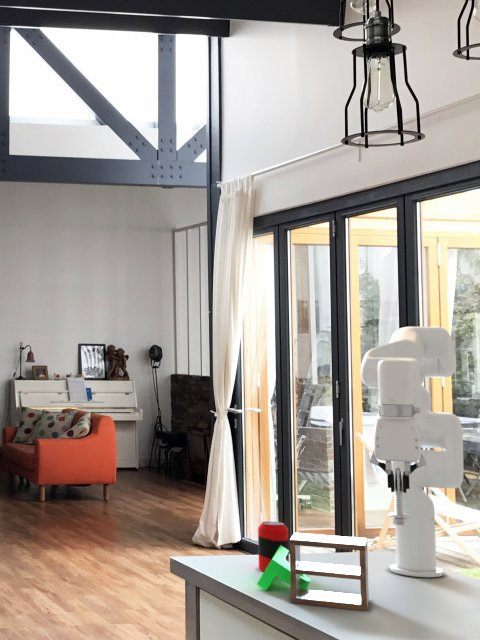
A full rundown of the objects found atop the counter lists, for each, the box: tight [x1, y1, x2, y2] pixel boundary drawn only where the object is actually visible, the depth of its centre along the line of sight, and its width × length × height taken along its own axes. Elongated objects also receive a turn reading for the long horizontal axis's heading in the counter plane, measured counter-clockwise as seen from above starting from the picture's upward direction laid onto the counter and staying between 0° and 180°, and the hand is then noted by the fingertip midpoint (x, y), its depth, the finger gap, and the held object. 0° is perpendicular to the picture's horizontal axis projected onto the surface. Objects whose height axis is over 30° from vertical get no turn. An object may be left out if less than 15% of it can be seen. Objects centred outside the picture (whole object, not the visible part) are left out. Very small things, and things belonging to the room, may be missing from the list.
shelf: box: [289, 532, 370, 612], centre depth 230 cm, size 10×16×14 cm, turn 66°
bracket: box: [256, 545, 312, 591], centre depth 248 cm, size 20×10×7 cm
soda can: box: [257, 520, 290, 573], centre depth 264 cm, size 8×8×12 cm
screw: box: [387, 468, 411, 525], centre depth 236 cm, size 13×5×5 cm
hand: (398, 491), depth 236 cm, fingers closed on screw, 2 cm apart
